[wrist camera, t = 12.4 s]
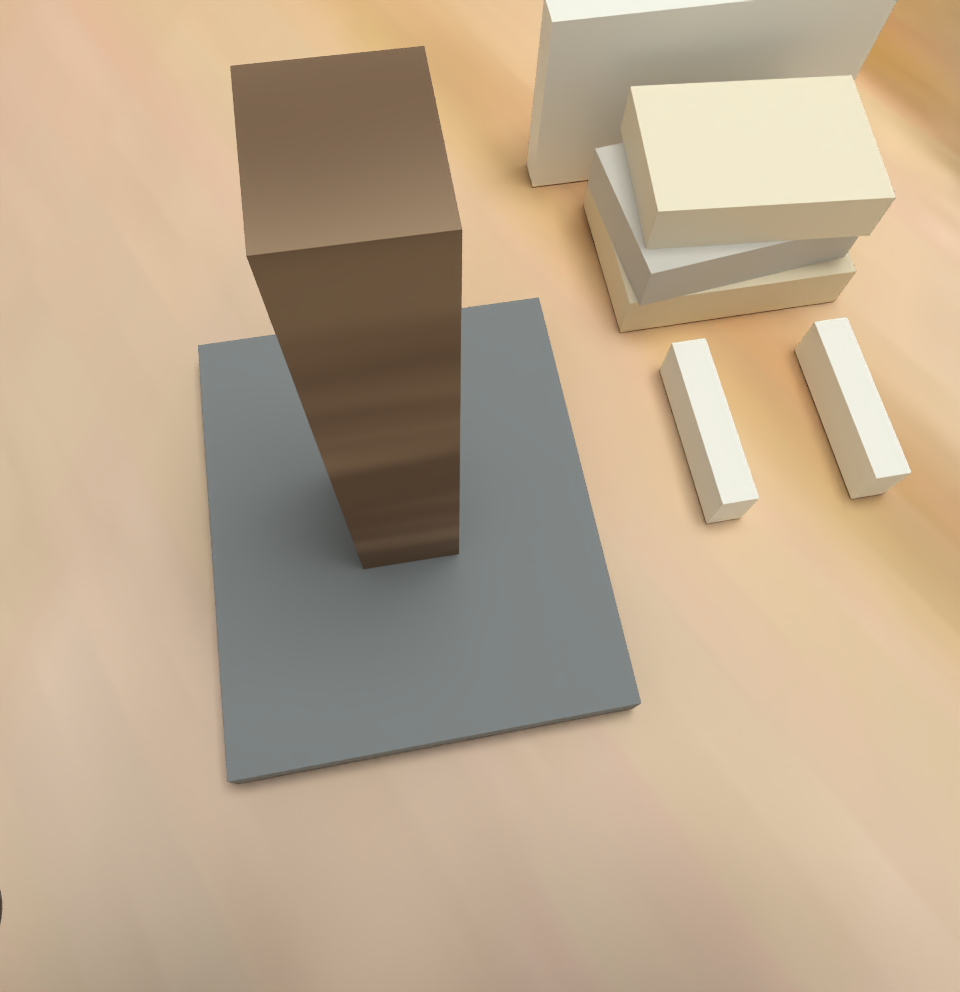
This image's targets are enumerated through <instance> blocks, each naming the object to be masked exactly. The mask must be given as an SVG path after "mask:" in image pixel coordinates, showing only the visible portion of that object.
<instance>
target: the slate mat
mask: <svg viewBox="0 0 960 992" xmlns="http://www.w3.org/2000/svg"><path fill="white" fill-rule="evenodd" d="M198 352H199V367H200V382H201V397H202V412H203V427H204V442H205V456H206V471H207V486H208V501H209V516H210V531H211V546H212V561H213V575H214V590H215V605H216V620H217V635H218V650H219V665H220V680H221V694H222V709H223V724H224V739H225V754H226V769H227V782H232V783H244V782H249V781H254V780H259V779H265V778H270V777H275V776H280V775H286V774H291V773H296V772H301V771H307V770H312V769H317V768H322V767H328V766H333V765H338V764H343V763H349V762H354V761H359V760H364V759H370V758H375V757H380V756H385V755H391V754H396V753H401V752H406V751H412V750H417V749H422V748H427V747H433V746H438V745H443V744H448V743H454V742H459V741H464V740H469V739H475V738H480V737H485V736H490V735H496V734H501V733H506V732H511V731H517V730H522V729H527V728H532V727H538V726H543V725H548V724H553V723H559V722H564V721H569V720H574V719H580V718H585V717H590V716H595V715H601V714H606V713H611V712H616V711H622V710H627V709H632V708H634V707H636V706H637V705H639V704H641V701H640V697H639V693H638V689H637V685H636V681H635V677H634V673H633V669H632V665H631V661H630V657H629V653H628V649H627V645H626V641H625V637H624V633H623V629H622V625H621V622H620V618H619V614H618V610H617V606H616V602H615V598H614V594H613V590H612V586H611V582H610V578H609V574H608V570H607V566H606V562H605V558H604V554H603V550H602V546H601V542H600V538H599V534H598V530H597V526H596V522H595V519H594V515H593V511H592V507H591V503H590V499H589V495H588V491H587V487H586V483H585V479H584V475H583V471H582V467H581V463H580V459H579V455H578V451H577V447H576V443H575V439H574V435H573V431H572V427H571V423H570V420H569V416H568V412H567V408H566V404H565V400H564V396H563V392H562V388H561V384H560V380H559V376H558V372H557V368H556V364H555V360H554V356H553V352H552V348H551V344H550V340H549V336H548V332H547V328H546V324H545V320H544V317H543V313H542V309H541V305H540V301H539V298H532V299H525V300H518V301H510V302H503V303H496V304H489V305H482V306H475V307H468V308H461V407H460V517H459V554H457V555H451V556H444V557H438V558H432V559H425V560H419V561H413V562H407V563H400V564H394V565H388V566H382V567H375V568H369V569H363V567H362V564H361V562H360V559H359V556H358V553H357V551H356V548H355V545H354V543H353V540H352V537H351V535H350V532H349V529H348V527H347V524H346V521H345V519H344V516H343V513H342V511H341V508H340V505H339V503H338V500H337V497H336V495H335V492H334V489H333V486H332V484H331V481H330V478H329V476H328V473H327V470H326V468H325V465H324V462H323V460H322V457H321V454H320V452H319V449H318V446H317V444H316V441H315V438H314V436H313V433H312V430H311V428H310V425H309V422H308V419H307V417H306V414H305V411H304V409H303V406H302V403H301V401H300V398H299V395H298V393H297V390H296V387H295V385H294V382H293V379H292V377H291V374H290V371H289V369H288V366H287V363H286V361H285V358H284V355H283V352H282V350H281V347H280V344H279V342H278V339H277V336H276V335H269V336H262V337H254V338H247V339H240V340H233V341H226V342H219V343H212V344H205V345H198Z"/></svg>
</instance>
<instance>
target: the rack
mask: <svg viewBox="0 0 960 992" xmlns="http://www.w3.org/2000/svg"><path fill="white" fill-rule="evenodd" d="M896 2H897V0H544V4H543V13H542V23H541V32H540V42H539V51H538V60H537V70H536V79H535V89H534V98H533V107H532V117H531V126H530V136H529V145H528V154H527V168H528V172H529V175H530V179H531V183H532V187H536V186H544V185H552V184H560V183H568V182H576V181H583V180H588V184H587V189H586V194H585V199H584V204H583V206H584V209H585V213H586V216H587V220H588V223H589V226H590V230H591V233H592V237H593V240H594V244H595V247H596V250H597V254H598V257H599V261H600V264H601V268H602V271H603V275H604V278H605V281H606V285H607V288H608V292H609V295H610V299H611V302H612V305H613V309H614V312H615V316H616V319H617V323H618V326H619V330H620V332H627V331H633V330H640V329H647V328H654V327H661V326H668V325H675V324H681V323H688V322H695V321H702V320H709V319H716V318H722V317H729V316H736V315H743V314H750V313H757V312H764V311H770V310H777V309H784V308H791V307H798V306H805V305H811V304H818V303H825V302H832V301H835V300H836V299H837V297H838V296H839V295H840V293H841V292H842V290H843V289H844V288H845V286H846V285H847V284H848V282H849V281H850V279H851V278H852V277H853V275H854V274H855V273H856V269H855V267H854V264H853V262H852V260H851V257H850V255H849V253H848V251H849V250H850V248H851V247H852V245H853V244H854V242H855V241H856V239H857V238H858V237H859V236H868V235H870V233H871V232H872V231H873V229H874V228H875V226H876V225H877V224H878V222H879V221H880V219H881V218H882V216H883V215H884V214H885V212H886V211H887V209H888V208H889V207H890V205H891V204H892V202H893V201H894V200H895V198H896V196H895V193H894V191H893V188H892V185H891V182H890V180H889V177H888V174H887V171H886V169H885V166H884V163H883V160H882V157H881V155H880V152H879V149H878V146H877V144H876V141H875V138H874V135H873V132H872V130H871V127H870V124H869V121H868V119H867V116H866V113H865V110H864V107H863V105H862V102H861V99H860V96H859V94H858V91H857V88H856V85H855V83H854V80H855V78H856V76H857V74H858V73H859V71H860V69H861V67H862V65H863V63H864V61H865V60H866V58H867V56H868V54H869V52H870V50H871V48H872V46H873V45H874V43H875V41H876V39H877V37H878V35H879V33H880V32H881V30H882V28H883V26H884V24H885V22H886V20H887V19H888V17H889V15H890V13H891V11H892V9H893V7H894V6H895V4H896ZM795 352H796V355H797V358H798V360H799V363H800V366H801V368H802V371H803V374H804V376H805V379H806V381H807V384H808V387H809V389H810V392H811V395H812V397H813V400H814V403H815V405H816V408H817V410H818V413H819V416H820V418H821V421H822V424H823V426H824V429H825V431H826V434H827V437H828V439H829V442H830V445H831V447H832V450H833V453H834V455H835V458H836V460H837V463H838V466H839V468H840V471H841V474H842V476H843V479H844V482H845V484H846V487H847V489H848V492H849V495H850V497H851V499H855V498H860V497H866V496H872V495H878V494H884V493H885V492H887V491H888V490H889V489H891V488H892V487H893V486H895V485H896V484H897V483H898V482H900V481H901V480H902V479H904V478H905V477H906V476H908V475H909V474H910V473H911V470H910V468H909V466H908V463H907V461H906V458H905V456H904V453H903V451H902V449H901V446H900V444H899V441H898V439H897V437H896V434H895V432H894V429H893V427H892V425H891V422H890V420H889V417H888V415H887V412H886V410H885V408H884V405H883V403H882V400H881V398H880V396H879V393H878V391H877V388H876V386H875V383H874V381H873V379H872V376H871V374H870V371H869V369H868V367H867V364H866V362H865V359H864V357H863V355H862V352H861V350H860V347H859V345H858V342H857V340H856V338H855V335H854V333H853V330H852V328H851V326H850V323H849V321H848V318H847V317H845V318H838V319H831V320H825V321H818V322H814V323H813V325H812V326H811V328H810V329H809V330H808V332H807V333H806V335H805V336H804V337H803V339H802V340H801V342H800V343H799V344H798V346H797V347H796V349H795ZM660 373H661V376H662V379H663V383H664V386H665V389H666V392H667V396H668V399H669V402H670V406H671V409H672V412H673V415H674V419H675V422H676V425H677V428H678V432H679V435H680V438H681V442H682V445H683V448H684V451H685V455H686V458H687V461H688V464H689V468H690V471H691V474H692V478H693V481H694V484H695V487H696V491H697V494H698V497H699V500H700V504H701V507H702V510H703V513H704V517H705V520H706V523H707V524H708V523H714V522H720V521H725V520H731V519H737V518H741V517H742V516H743V515H744V514H745V513H746V512H747V511H748V510H749V509H750V507H751V506H752V505H753V504H754V503H755V502H756V501H757V500H758V499H759V496H758V493H757V490H756V487H755V484H754V481H753V478H752V475H751V472H750V469H749V466H748V463H747V460H746V457H745V454H744V451H743V448H742V445H741V442H740V439H739V436H738V433H737V430H736V428H735V425H734V422H733V419H732V416H731V413H730V410H729V407H728V404H727V401H726V398H725V395H724V392H723V389H722V386H721V383H720V380H719V377H718V374H717V371H716V368H715V365H714V362H713V359H712V356H711V353H710V350H709V347H708V344H707V341H706V338H703V339H696V340H690V341H683V342H676V343H672V344H671V346H670V349H669V351H668V353H667V355H666V357H665V360H664V362H663V364H662V366H661V369H660Z"/></svg>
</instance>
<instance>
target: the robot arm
mask: <svg viewBox="0 0 960 992" xmlns="http://www.w3.org/2000/svg"><path fill="white" fill-rule="evenodd" d="M1 917H2V896H1V891H0V923H1Z"/></svg>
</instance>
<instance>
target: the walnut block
mask: <svg viewBox="0 0 960 992" xmlns="http://www.w3.org/2000/svg"><path fill="white" fill-rule="evenodd" d="M230 68H231V80H232V91H233V103H234V115H235V127H236V139H237V150H238V162H239V174H240V186H241V197H242V209H243V221H244V233H245V244H246V256H247V259H248V261H249V264H250V267H251V269H252V272H253V275H254V277H255V280H256V283H257V285H258V288H259V291H260V294H261V296H262V299H263V302H264V304H265V307H266V310H267V312H268V315H269V318H270V320H271V323H272V326H273V328H274V331H275V334H276V336H277V339H278V342H279V344H280V347H281V350H282V352H283V355H284V358H285V361H286V363H287V366H288V369H289V371H290V374H291V377H292V379H293V382H294V385H295V387H296V390H297V393H298V395H299V398H300V401H301V403H302V406H303V409H304V411H305V414H306V417H307V419H308V422H309V425H310V428H311V430H312V433H313V436H314V438H315V441H316V444H317V446H318V449H319V452H320V454H321V457H322V460H323V462H324V465H325V468H326V470H327V473H328V476H329V478H330V481H331V484H332V486H333V489H334V492H335V495H336V497H337V500H338V503H339V505H340V508H341V511H342V513H343V516H344V519H345V521H346V524H347V527H348V529H349V532H350V535H351V537H352V540H353V543H354V545H355V548H356V551H357V553H358V556H359V559H360V562H361V564H362V567H363V569H369V568H375V567H382V566H388V565H394V564H400V563H407V562H413V561H419V560H425V559H432V558H438V557H444V556H451V555H457V554H459V517H460V407H461V296H462V226H461V222H460V217H459V212H458V207H457V202H456V197H455V193H454V188H453V183H452V178H451V173H450V168H449V164H448V159H447V154H446V149H445V144H444V139H443V135H442V130H441V125H440V120H439V115H438V110H437V106H436V101H435V96H434V91H433V86H432V81H431V77H430V72H429V67H428V62H427V57H426V52H425V48H424V46H419V47H410V48H400V49H390V50H381V51H371V52H361V53H351V54H342V55H332V56H322V57H312V58H303V59H293V60H283V61H273V62H264V63H254V64H244V65H234V66H230Z"/></svg>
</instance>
